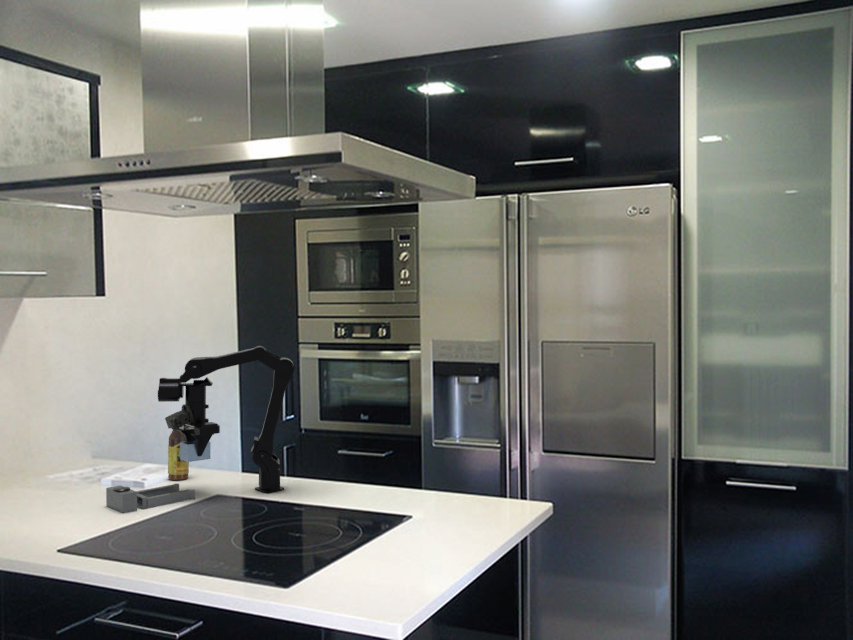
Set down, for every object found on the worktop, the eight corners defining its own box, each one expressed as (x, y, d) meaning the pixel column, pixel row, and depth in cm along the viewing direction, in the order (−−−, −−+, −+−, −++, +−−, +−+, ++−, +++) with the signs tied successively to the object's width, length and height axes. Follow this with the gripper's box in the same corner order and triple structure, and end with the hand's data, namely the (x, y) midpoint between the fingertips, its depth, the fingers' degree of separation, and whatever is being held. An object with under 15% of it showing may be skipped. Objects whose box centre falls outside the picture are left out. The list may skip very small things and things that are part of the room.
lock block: (210, 458, 230) (210, 441, 230) (187, 462, 225) (187, 444, 225) (202, 456, 234) (202, 438, 234) (179, 459, 229) (180, 441, 229)
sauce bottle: (178, 481, 244) (178, 417, 243) (163, 479, 246) (162, 416, 246) (193, 477, 249) (193, 414, 249) (178, 475, 252) (177, 413, 251)
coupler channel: (196, 498, 224) (196, 480, 224) (122, 513, 209) (122, 493, 209) (177, 491, 232) (177, 473, 232) (105, 505, 216) (104, 486, 216)
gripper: (155, 399, 230) (154, 453, 231) (183, 407, 217) (183, 464, 217) (190, 397, 238) (190, 448, 238) (220, 404, 224) (220, 458, 225)
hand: (195, 454), depth 230 cm, fingers closed on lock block, 5 cm apart
